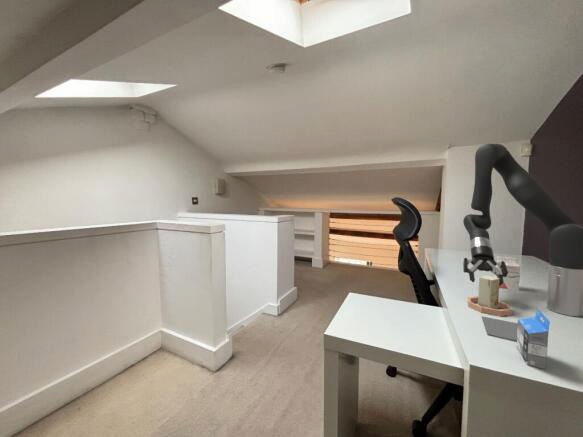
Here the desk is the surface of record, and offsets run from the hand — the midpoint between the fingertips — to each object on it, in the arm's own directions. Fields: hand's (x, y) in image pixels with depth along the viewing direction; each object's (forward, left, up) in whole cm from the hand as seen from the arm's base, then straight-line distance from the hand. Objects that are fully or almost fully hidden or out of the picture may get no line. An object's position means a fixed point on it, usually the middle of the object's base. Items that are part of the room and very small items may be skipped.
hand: (486, 282), depth 96 cm
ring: (0, +3, -9) cm, 10 cm away
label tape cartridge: (-5, +36, -9) cm, 38 cm away
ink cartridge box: (-11, -32, -9) cm, 35 cm away
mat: (-3, +21, -9) cm, 23 cm away
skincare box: (0, +3, -9) cm, 10 cm away
